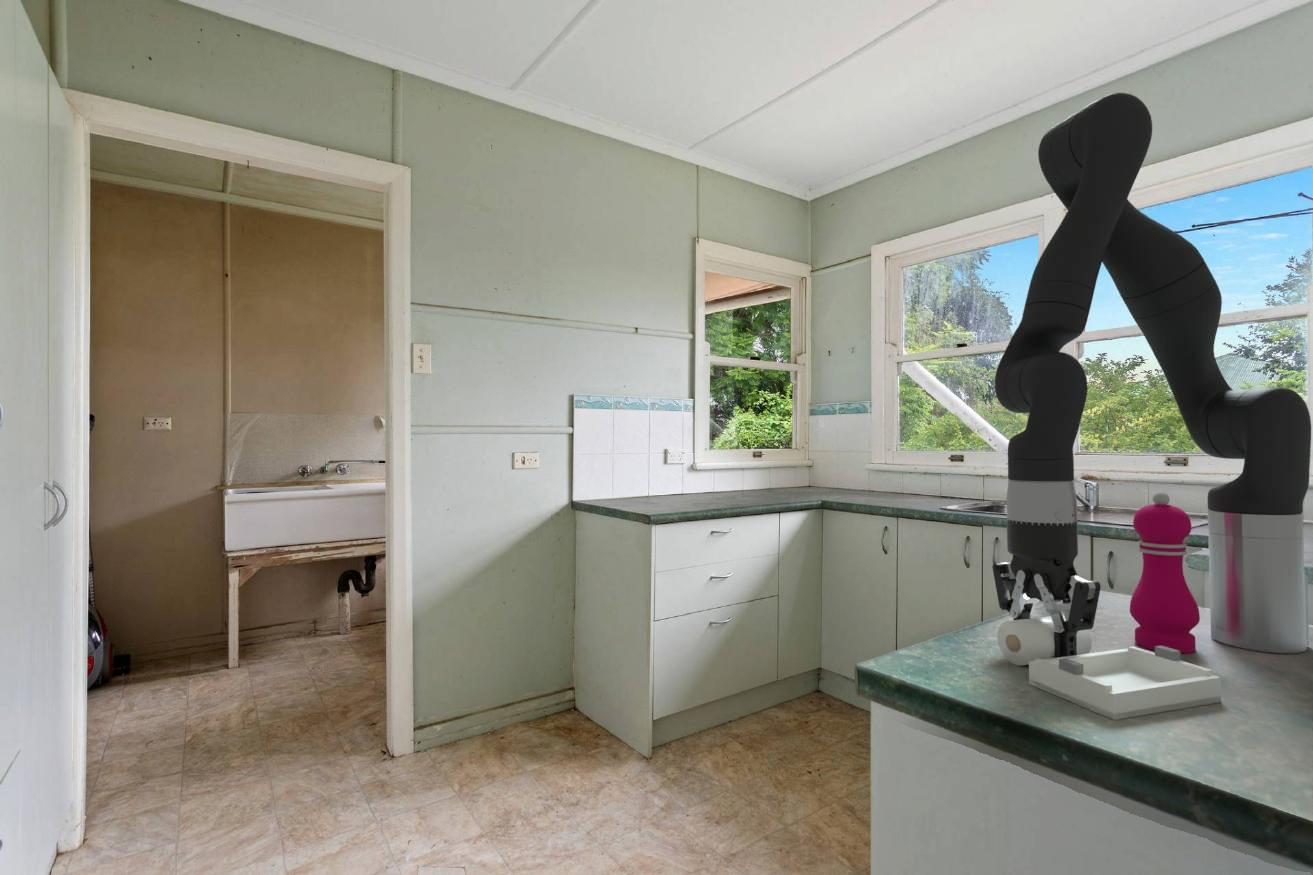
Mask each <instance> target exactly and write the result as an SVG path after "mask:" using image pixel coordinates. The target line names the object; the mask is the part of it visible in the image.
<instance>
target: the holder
mask: <svg viewBox="0 0 1313 875" xmlns="http://www.w3.org/2000/svg"><path fill="white" fill-rule="evenodd" d="M1028 677H1029V678H1028V679H1029V680H1028V682H1029V685H1030V686H1033V687H1035V688H1038V689H1039V690H1040V689H1041V690H1043V691H1045V692H1046V693H1049V694H1051V695H1054V696H1057V697H1059V698H1061V699H1064V700H1066V701H1069V703H1073V704H1075V705H1078V706H1080V707H1083V708H1085V709H1087V710H1090V711H1092V712H1094V713H1096V714H1099V715H1101V716H1104V717H1106V718H1108V719H1110V720H1113V721H1118V720H1122V719H1128V718H1129V719H1130V718H1134V717H1135V718H1136V717H1141V716H1146V715H1152V714H1153V715H1154V714H1158V713H1159V714H1160V713H1164V712H1169V711H1176V710H1182V709H1189V708H1193V707H1200V706H1205V705H1211V704H1216V703H1221V702H1222V686H1221V684H1222V683H1221V682H1222V681H1221V677H1220V676H1217V675H1214V674H1213V670H1212V669H1210V668H1207V667H1203V666H1200V665H1196V664H1193V663H1191V662H1186V661H1183V660H1181V653H1180V651H1179V650H1175V649H1172V648H1168V647H1165V646H1155V650H1154V652H1153V651H1152V650H1151V651H1150V650H1146V649H1143V648H1141V647H1138V646H1133V645H1132V646H1128V647H1127V648H1120V649H1114V650H1113V649H1111V650H1106V651H1097V652H1089V653H1088V654H1082V655H1074V656H1066V657H1059V658H1051V659H1044V660H1043V659H1041V658H1040V659H1035V661H1029V665H1028Z"/></svg>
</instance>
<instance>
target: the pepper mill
mask: <svg viewBox="0 0 1313 875" xmlns="http://www.w3.org/2000/svg"><path fill="white" fill-rule="evenodd" d="M1170 500H1171V498H1170V496H1169V495H1168V494H1167V493H1165V492H1164V491H1163V492H1162V491H1161V492H1160V491H1158V492H1156V493H1155V494H1153V496H1152V501H1153V503H1154V504H1148V505H1145V506H1143V507H1141V508H1140V509H1138V510H1137V512H1135V515H1134V517H1133V522H1132V523H1133V528H1134V531H1135V532H1136V533H1137V534H1138V536H1140V538H1141V540H1139V541H1138V542H1137V543H1138V545H1139V548H1138V551H1139V553H1142V561H1143V562H1142V563H1143V564H1142V572H1141V576H1140V578H1139V582H1138V583H1137V585H1136V586H1135V590H1134V591H1133V593H1132V594H1131V598H1130V603H1129V613H1130V616H1131V617H1132V618H1133V619H1134V620H1135V621H1136V623H1137V624H1138V625H1139V626H1137V627H1136V628H1134V642H1135V643H1136V644H1137V645H1139V646H1140V647H1142V648H1146V649H1148V650H1151V651H1152V650H1153V651H1155V646H1165V647H1168V648H1172V649H1175V650H1179V651H1180V654H1189V653H1193V652H1195V651H1196V636H1195V635H1194V634H1192V633H1191V631H1192V630H1193V629H1194V628H1195V627H1196V626H1198V624H1199V622H1200V619H1201V615H1200V609H1199V606H1198V603H1197V601H1196V599H1195V598H1194V595H1193V594H1192V592H1191V590H1190V588H1189V586H1188V584H1187V582H1186V578H1185V575H1184V570H1183V569H1184V568H1183V561H1184V556H1185V555H1187V553H1188V551H1187V549H1186V548H1187V546H1188V544H1187V543H1185V542H1184V540H1185V539H1186V538H1187V537H1188V536H1189V535H1190V534H1191V532H1192V523H1191V522H1192V520H1191V518H1190V516H1189V515H1188V514H1187V512H1186V511H1185V510H1183V509H1182V508H1179V507H1177V506H1175V505H1171V504H1169V503H1170Z"/></svg>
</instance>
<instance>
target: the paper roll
mask: <svg viewBox="0 0 1313 875" xmlns="http://www.w3.org/2000/svg"><path fill="white" fill-rule="evenodd" d="M1062 615H1063V619H1064V621H1066V619H1065V616H1064V614H1062ZM1030 618H1031V617H1030ZM997 630H998V631H997V643H998V646H999V650H1000V652H1001V653H1002V656H1004V658H1005V659H1006V661H1008V662H1009V663H1011V664H1012V665H1015V666H1020V667H1021V666H1026V665H1027V666H1029V661H1035V659H1040V658H1041V659H1043V660H1044V659H1051V658H1055V643H1054V631H1056V629H1055V627H1054V624H1053V620H1052V617H1051V615H1049V616H1043V617H1041V616H1039V617H1034V618H1031V619H1021V620H1014V619H1013V620H1007V621H1006V620H1005V621H1004V622H1003V623H1001V624H1000V626H999V627H998V629H997ZM1092 640H1093V639H1092V635H1091V633H1090V629H1089V630H1080V631H1078V632H1077V634H1076V641H1077V650H1076V651H1077V655H1082V654H1089V653H1091V652H1090V651H1091V649H1092V645H1093V641H1092Z"/></svg>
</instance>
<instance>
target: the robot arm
mask: <svg viewBox="0 0 1313 875" xmlns="http://www.w3.org/2000/svg"><path fill="white" fill-rule="evenodd" d="M1152 136H1153V120H1152V115H1151V113H1150V110H1149V109H1148V107H1147V105H1146V104H1145V103H1144V102H1143V101H1142V99H1140V98H1139V97H1138V96H1135V95H1133V94H1131V93H1126V92H1115V93H1110V94H1107V95H1105V96H1103V97H1101V98H1099V99H1096V100H1095V101H1092V102H1091V103H1089V104H1088V105H1087V104H1086V106H1085V107H1083V108H1081V109H1079V110H1078V111H1076V112H1075V113H1073V114H1071V115H1070V116H1069V117H1067V118H1065V119H1064V120H1062V121H1060V122H1059V123H1057V124H1055V125H1054V126H1053V127H1051V128H1050V129H1049V130H1048V131H1047V132H1045V133H1044V135H1043V137H1042V138H1041V140H1040V142H1039V145H1038V163H1039V166H1040V169H1041V172H1042V174H1043V176H1044V178H1045V180H1046V182H1047V184H1049V186H1050V188H1051V190H1052V191H1053V192H1054V194H1055V195H1056V196H1057V198H1058V199H1059V200H1060V202H1061V203H1062V205H1063V206H1064V208H1066V210H1067V212H1066V213H1065V215H1064V216H1063V219H1062V221H1061V223H1060V224H1059V226H1058V227H1057V229H1056V230H1055V232H1054V234H1053V235H1052V237H1051V238H1050V239H1049V242H1048V243H1047V245H1046V246H1045V248H1044V250H1043V252H1042V254H1041V255H1040V256H1039V259H1038V261H1037V264H1036V265H1035V266H1034V267H1035V268H1034V270H1033V273H1032V276H1031V280H1030V283H1029V286H1028V290H1027V295H1026V300H1025V303H1024V306H1023V307H1024V308H1023V310H1022V317H1021V320H1020V323H1019V325H1017V328H1016V330H1015V331H1014V333H1013V334H1012V336H1011V338H1010V340H1009V343H1008V345H1006V349H1005V350H1004V353H1003V354H1002V357H1001V359H1000V360H999V363H998V365H997V368H996V372H995V377H994V392H995V396H996V398H997V400H998V402H999V403H1000V406H1002V407H1003V408H1004V409H1005V410H1008V411H1009V412H1012V413H1016V414H1028V417H1027V423H1026V427H1025V429H1024V430H1023V431H1022V432H1019V433H1017V434H1015V435H1012V437H1011V438H1010V439H1009V441H1008V444H1007V477H1008V478H1007V479H1008V480H1007V490H1006V497H1005V498H1006V500H1005V501H1006V502H1005V504H1006V505H1005V506H1006V545H1007V546H1006V548H1007V551H1008V553H1009V554H1010V555H1012V558H1011V561H1010V562H997V563H993V564H992V573H993V579H994V584H995V589H996V595H997V599H998V600H997V601H998V606H999V608H1000V609H1001V610H1002V611H1006V612H1008V613H1009V615H1010V617H1011V618H1013V620H1021V619H1031V617H1032V616H1033V614H1034V612H1035V608H1036V607H1037V606H1036V605H1037V604H1038V603H1039V602H1043V606H1044V609H1045V611H1046V613H1048V614H1049V615H1050V616H1051V617H1052V620H1053V624H1054V627H1055V629H1056V631H1054V643H1055V658H1059V657H1066V656H1074V655H1077V651H1076V650H1077V641H1076V634H1077V632H1078V631H1080V630H1089V631H1090V630H1092V629H1093V628H1094V625H1095V619H1096V613H1097V610H1098V609H1097V608H1098V603H1099V598H1100V592H1101V584H1100V582H1099V581H1098V580H1095V579H1094V580H1087V579H1084V578H1083V577H1081V576H1078V573H1077V571H1076V568H1075V565H1074V561H1075V559H1076V558H1077V556H1078V555H1079V538H1078V537H1079V536H1078V534H1079V533H1078V532H1079V531H1078V529H1079V527H1078V501H1077V500H1078V498H1077V492H1076V488H1075V487H1076V486H1075V481H1074V480H1075V471H1074V470H1075V468H1074V467H1075V465H1074V446H1075V445H1074V444H1075V441H1076V438H1077V436H1078V433H1079V429H1080V425H1081V421H1082V417H1083V414H1084V409H1085V405H1086V401H1087V396H1088V380H1087V376H1086V373H1085V370H1084V368H1083V366H1082V365H1081V363H1080V362H1079V360H1078V359H1077V358H1075V357H1074V356H1073V355H1071V354H1069V353H1067V352H1063V351H1061V350H1062V348H1064V347H1065V346H1066V345H1067V344H1069V343H1070V342H1072V341H1074V340H1076V339H1078V338H1079V337H1080V336H1081V335H1082V334H1083V332H1084V331H1085V328H1086V326H1087V322H1088V320H1089V318H1088V317H1089V314H1090V310H1091V307H1092V302H1093V299H1094V298H1093V297H1094V294H1095V290H1096V285H1097V281H1098V277H1099V274H1100V269H1101V266H1102V264H1103V265H1104V268H1105V269H1106V271H1107V272H1108V274H1109V275H1110V278H1111V279H1112V281H1113V283H1114V285H1115V287H1116V289H1117V292H1118V293H1119V296H1120V298H1121V299H1122V301H1123V303H1124V304H1125V306H1126V307H1127V309H1128V310H1127V311H1129V313H1130V314H1131V316H1132V319H1133V320H1134V322H1135V324H1137V327H1138V328H1139V330H1140V331H1141V333H1142V335H1143V336H1144V338H1145V340H1146V341H1147V344H1148V345H1149V347H1150V348H1151V351H1152V353H1153V355H1154V357H1155V359H1156V361H1157V363H1158V365H1159V366H1160V368H1161V370H1162V372H1163V375H1164V376H1165V380H1166V381H1167V383H1168V385H1169V388H1170V390H1171V393H1172V395H1173V397H1174V400H1175V402H1176V405H1177V408H1178V411H1179V412H1180V415H1181V417H1182V420H1183V423H1184V424H1185V427H1186V429H1187V432H1188V433H1189V436H1190V438H1192V440H1193V441H1194V443H1195V445H1196V446H1197V447H1198V448H1199V449H1200V450H1201V451H1202V452H1203V453H1205V454H1206V455H1208V456H1210V457H1214V458H1218V459H1226V460H1228V459H1229V460H1231V459H1232V460H1233V459H1235V460H1244V461H1243V462H1244V463H1243V468H1242V472H1241V473H1240V475H1239V476H1238V477H1237V478H1235V479H1234V480H1232V481H1231V480H1230V482H1227V483H1223V484H1220V485H1217V486H1215V487H1212V488H1210V489H1209V490H1208V492H1207V527H1208V528H1207V531H1208V533H1207V534H1208V565H1209V566H1208V568H1209V569H1208V570H1209V572H1208V573H1209V576H1208V577H1209V613H1210V616H1209V618H1210V637H1211V638H1212V639H1213V640H1215V641H1217V642H1220V643H1223V644H1225V645H1229V646H1233V647H1237V648H1242V649H1246V650H1251V651H1258V652H1266V653H1279V654H1298V653H1303V652H1306V651H1307V647H1308V646H1310V626H1309V625H1310V624H1309V591H1308V590H1309V589H1308V588H1309V585H1308V584H1309V583H1308V573H1307V572H1306V571H1305V546H1304V545H1305V544H1304V542H1305V541H1304V517H1303V516H1304V514H1303V512H1304V505H1303V504H1304V501H1305V498H1306V496H1307V493H1308V490H1309V485H1310V469H1311V467H1310V466H1311V450H1312V449H1311V448H1312V446H1311V445H1312V422H1311V421H1312V420H1311V419H1312V418H1311V416H1310V410H1309V408H1308V405H1307V403H1306V402H1305V400H1304V399H1303V398H1302V395H1300V393H1298V392H1296V391H1295V390H1293V389H1290V388H1287V387H1277V386H1275V387H1274V386H1273V387H1260V388H1257V387H1256V388H1247V389H1232V387H1231V386H1230V385H1229V384H1228V381H1227V380H1226V379H1225V377H1224V375H1223V373H1222V372H1221V369H1220V367H1219V365H1218V363H1217V360H1216V357H1215V356H1216V355H1215V340H1216V336H1217V332H1218V328H1219V324H1220V319H1221V313H1222V306H1223V305H1222V304H1223V302H1222V299H1223V298H1222V294H1221V291H1220V288H1219V287H1220V286H1218V283H1217V281H1216V280H1215V277H1214V276H1213V274H1212V272H1211V270H1210V268H1209V266H1208V264H1207V263H1206V261H1205V259H1204V257H1203V255H1202V254H1201V252H1200V251H1199V249H1198V248H1197V247H1196V246H1195V245H1194V244H1193V243H1191V241H1189V240H1188V239H1186V238H1185V237H1183V235H1181V234H1179V233H1177V232H1175V231H1174V230H1172V229H1170V228H1169V227H1167V226H1165V225H1164V224H1162V223H1160V222H1158V220H1157V221H1156V220H1154V219H1153V218H1152V217H1150V216H1148V215H1146V214H1145V213H1143V212H1141V211H1140V210H1139V209H1138V208H1137V207H1136V206H1134V204H1133V203H1131V202H1130V200H1129V199H1128V197H1129V195H1130V193H1131V190H1132V189H1133V186H1134V184H1135V181H1136V179H1137V177H1138V175H1139V172H1140V170H1141V168H1142V166H1143V163H1144V161H1145V159H1146V157H1147V153H1148V150H1149V148H1150V145H1151V141H1152V140H1151V139H1152ZM1008 594H1009V597H1008ZM1009 598H1010V599H1009ZM1061 601H1062V604H1058V603H1059V602H1061ZM1057 602H1058V603H1057ZM1063 615H1064V616H1065V619H1066V621H1064V619H1063Z"/></svg>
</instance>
